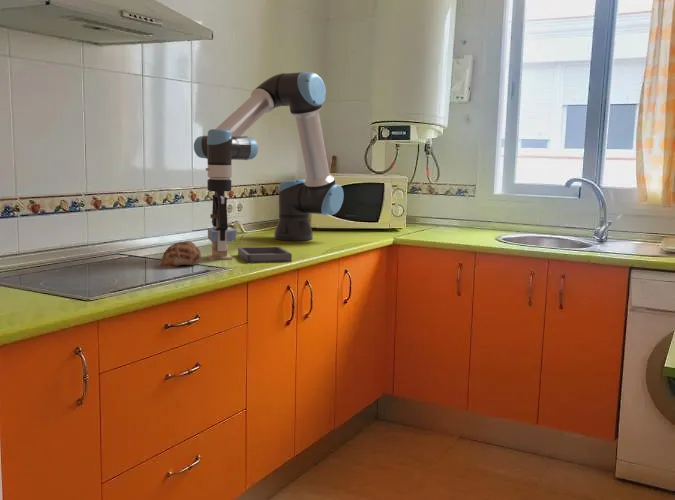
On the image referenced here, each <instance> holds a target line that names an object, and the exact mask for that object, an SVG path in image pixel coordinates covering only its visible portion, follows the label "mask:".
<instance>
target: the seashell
mask: <svg viewBox="0 0 675 500" xmlns="http://www.w3.org/2000/svg"><path fill="white" fill-rule="evenodd" d="M201 257H202V255H201V251H200V249H199V248H198V247H197V246H196V244H195V243H194V242H192V241H189V240H188V241H187V240H186V241H179V242H178V241H177V242H175V243H173V244H172V245H170V246H169V247H168V248H166V250H165V251H164V252H163V254H162V257H161V262H160V267H165V268H176V267H179V266H182V265H183V266H185V265H186V266H195V265H197V264H198V263H199V262H200V260H201Z"/></svg>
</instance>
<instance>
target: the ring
mask: <svg viewBox="0 0 675 500" xmlns="http://www.w3.org/2000/svg"><path fill="white" fill-rule="evenodd" d="M207 239H209V241H210V242H211V243H212V242H218V231H216V228H213V227H212V228H211V227H209V228H207ZM232 241H233V242H236V241H237V231H236V229H229V228H228V229H227V243H228V242H232Z"/></svg>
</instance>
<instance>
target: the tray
mask: <svg viewBox="0 0 675 500" xmlns="http://www.w3.org/2000/svg"><path fill="white" fill-rule="evenodd" d="M292 254H293V253H291V252H290V251H288V250H285V249H284V248H282V247H281V246H257V247H256V246H253V247H250V246H249V247H244V246H243V247H237V255H238V257H240V259H241V260H243V261H244V262H246V263H247V264H258V263H257V262H265V263H288V262H289V263H291V262H292V256H293V255H292Z"/></svg>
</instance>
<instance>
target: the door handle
mask: <svg viewBox="0 0 675 500" xmlns="http://www.w3.org/2000/svg"><path fill="white" fill-rule="evenodd" d="M212 218H216V228H218V218H217V214H212V213H210V219H212ZM217 231H218V230H217ZM206 257H207V259H208V260H209V261H227V260H228V261H229V260H230V261H232V260H233V256H232V255H230V254H229V253H228V250H227V251H218V242H212V241H211V253H210V254H207V256H206Z"/></svg>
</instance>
